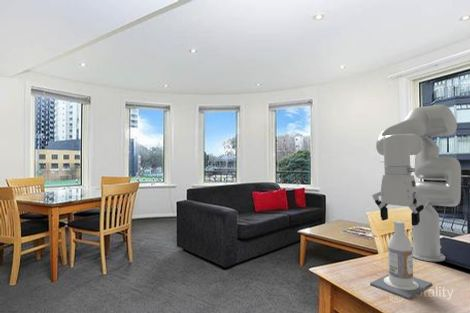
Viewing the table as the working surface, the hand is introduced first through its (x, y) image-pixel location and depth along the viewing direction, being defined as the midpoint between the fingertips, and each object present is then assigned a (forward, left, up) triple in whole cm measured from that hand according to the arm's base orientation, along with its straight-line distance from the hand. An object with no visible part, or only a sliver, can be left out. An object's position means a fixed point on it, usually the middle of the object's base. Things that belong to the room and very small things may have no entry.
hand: (399, 222), depth 93 cm
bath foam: (0, 0, -20) cm, 20 cm away
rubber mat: (+1, 0, -21) cm, 21 cm away
